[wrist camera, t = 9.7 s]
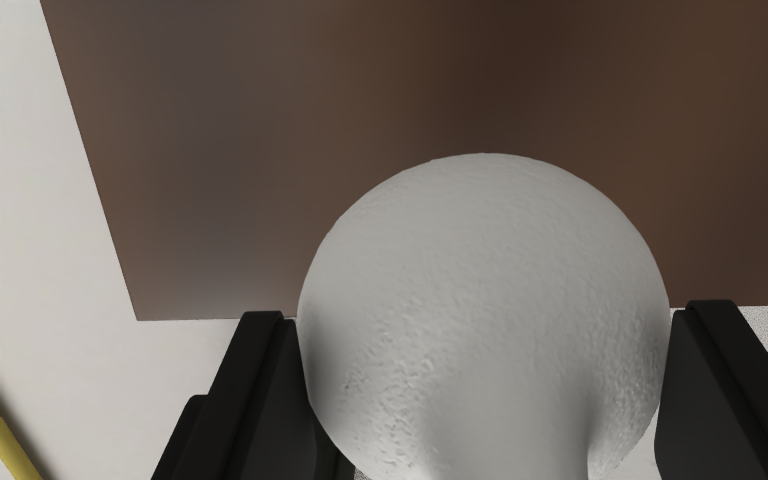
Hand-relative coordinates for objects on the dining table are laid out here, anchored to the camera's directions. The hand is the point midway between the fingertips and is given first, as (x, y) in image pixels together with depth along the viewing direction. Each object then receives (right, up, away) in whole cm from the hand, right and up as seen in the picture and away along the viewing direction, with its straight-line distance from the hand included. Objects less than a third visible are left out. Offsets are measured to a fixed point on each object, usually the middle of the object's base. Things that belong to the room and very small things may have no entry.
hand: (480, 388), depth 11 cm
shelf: (+1, +8, +13) cm, 15 cm away
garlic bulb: (0, +1, +3) cm, 3 cm away
